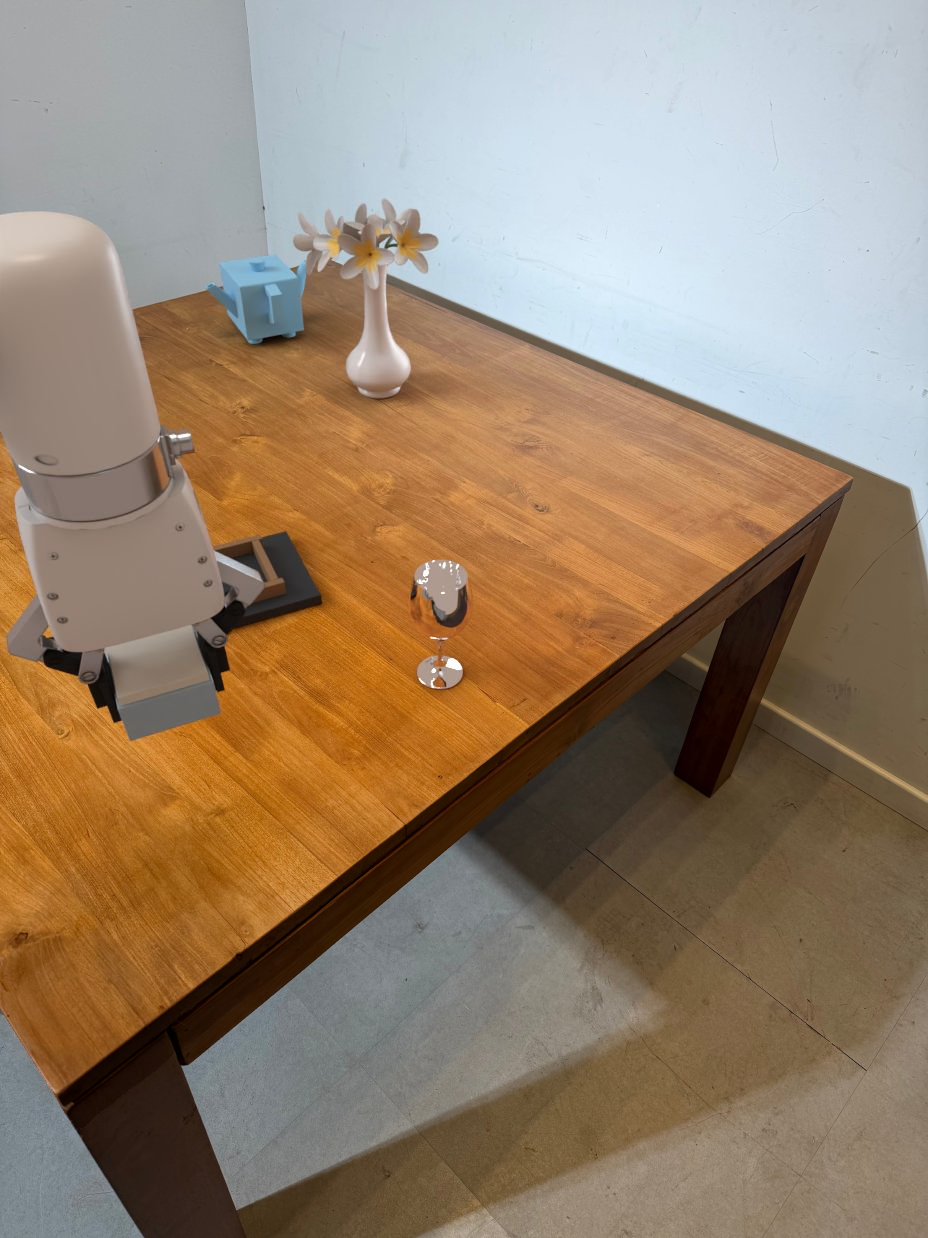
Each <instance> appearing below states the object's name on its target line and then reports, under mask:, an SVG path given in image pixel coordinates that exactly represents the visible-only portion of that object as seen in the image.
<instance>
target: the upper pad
mask: <svg viewBox="0 0 928 1238" xmlns="http://www.w3.org/2000/svg"><path fill="white" fill-rule="evenodd" d="M104 653H105V655H106V658H107V661H108V664H109V668H110V673H111V677H112V682H113V686H114V691H115V699H116V704H117V708H118V711H119V714H120V717H121V719H122V721H121V722H122V724H123V727H124V729H125V732H126V734H127V737H128V740H129V741H130V742H133V741H136V740H139V739H142V738H147V737H149V736H153V735H156V734H159V733H163V732H165V731H169V730H172V729H176V728H178V727H182V726H185V725H188V724H193V723H195V722H197V721H198V722H199V721H201V720H206V719H207V718H211V717H214V716H217V715H221V714H222V709H221V705H220V702H219V698H218V692H217V691H216V690H215V686H214V682H213V679H212V676H211V673H210V670H209V667H208V666H207V663H206V660H205V657H204V654H203V651H202V648H201V645H200V642H199V639H198V636H197V632H196V629H195V628H194V627H193V626H192V625H188V626H185V627H181V628H178V629H174V630H171V631H167V632H163V633H160V634H156V635H152V636H149V637H145V638H141V639H137V640H133V641H130V642H126V643H122V644H118V645H114V646H110V647H106V648H105V649H104Z"/></svg>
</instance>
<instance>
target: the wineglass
mask: <svg viewBox="0 0 928 1238" xmlns="http://www.w3.org/2000/svg"><path fill="white" fill-rule="evenodd" d="M407 602H408V603H407V606H408V615H409V619H410V620H411V623H412V626H413V627H414V628H415V629H416V630H417V631H418V632H419V633H420V634H421V635H423V636H425V637H427V638H429V639H433V640H434V642H435V644H436V648H437V654H436V655H431V656H428V657H425V658H424V659H423V660H421V661H420V662H419V663H418V665H417V667H416V678H417V679H418V681H419V682H420V683H421V684H422V685H424V686H425V687H427V688H430V689H432V690H447V689H450V688H452V687H455V686H456V685H458V683H460V681H462V679H463V676H464V670H463V666H462V665H461V663H460V662H459V661H458V660H457V659H455V658H453V657H451V656H448V655H443V651H444V645H445V643H446V640H449V639H452V638H455V637H457V636H459V635H460V634H462V633H463V632H464V631H465V630H466V628H467V627H468V626H469V624H470V622H471V619H472V616H473V613H474V597H473V590H472V585H471V582H470V577H469V574H468V572H467V570H466V569H465V568H464V566H462V565H461V564H459V563H458V562H456V561H453V560H448V559H433V560H428V561H426V562H423V563H422V564H421V565H419V566H418V567H417V568H416V570H415V571H414V574H413V577H412V581H411V584H410V589H409V594H408V601H407Z"/></svg>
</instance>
